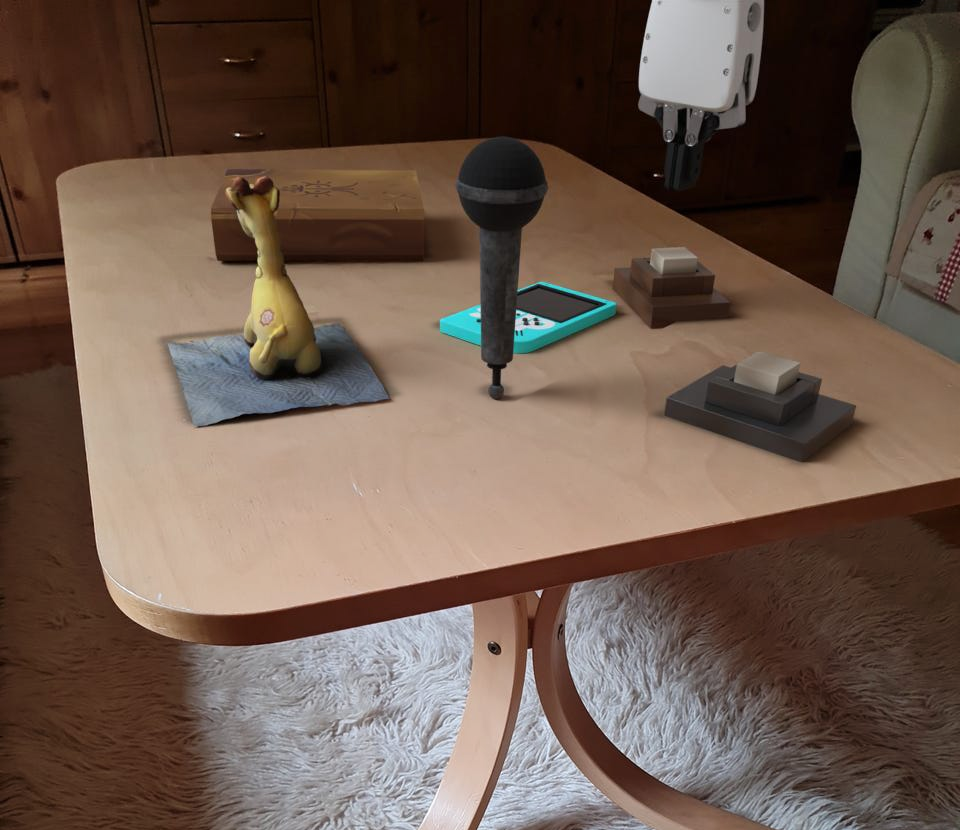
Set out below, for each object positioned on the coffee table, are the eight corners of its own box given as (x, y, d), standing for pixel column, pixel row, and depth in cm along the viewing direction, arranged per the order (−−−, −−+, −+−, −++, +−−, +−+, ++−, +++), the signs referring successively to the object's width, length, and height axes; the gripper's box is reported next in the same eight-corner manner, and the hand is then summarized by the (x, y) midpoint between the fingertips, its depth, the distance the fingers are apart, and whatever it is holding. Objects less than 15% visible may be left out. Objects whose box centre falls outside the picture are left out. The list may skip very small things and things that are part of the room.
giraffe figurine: (338, 324, 97) (320, 145, 87) (390, 405, 84) (376, 206, 74) (168, 349, 93) (129, 165, 83) (196, 438, 80) (153, 232, 70)
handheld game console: (436, 330, 97) (436, 316, 96) (539, 291, 107) (540, 278, 106) (517, 358, 92) (517, 344, 91) (617, 314, 101) (619, 300, 101)
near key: (796, 384, 79) (800, 362, 78) (774, 398, 77) (779, 376, 76) (754, 371, 81) (758, 350, 80) (732, 385, 79) (736, 363, 78)
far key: (695, 275, 100) (698, 257, 99) (661, 277, 100) (663, 259, 99) (682, 264, 103) (685, 246, 102) (649, 266, 103) (651, 248, 101)
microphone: (483, 422, 81) (488, 151, 69) (440, 392, 86) (437, 133, 73) (552, 404, 84) (569, 142, 72) (507, 375, 89) (516, 124, 76)
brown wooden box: (217, 265, 112) (209, 210, 108) (233, 218, 126) (227, 169, 123) (424, 262, 114) (423, 208, 110) (416, 217, 128) (415, 168, 125)
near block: (850, 430, 81) (862, 383, 79) (799, 469, 76) (811, 420, 73) (718, 389, 87) (726, 344, 85) (662, 422, 82) (669, 375, 79)
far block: (727, 324, 100) (734, 283, 97) (650, 329, 98) (655, 287, 96) (683, 285, 109) (688, 247, 107) (612, 289, 108) (616, 250, 105)
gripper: (813, -38, 84) (768, 195, 95) (661, -51, 91) (635, 167, 103) (771, -34, 79) (729, 210, 91) (614, -48, 87) (593, 179, 98)
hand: (679, 187), depth 97 cm, fingers closed
